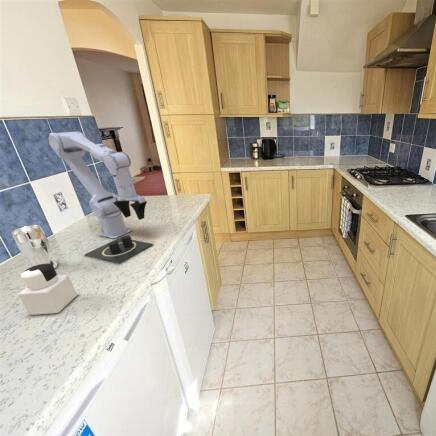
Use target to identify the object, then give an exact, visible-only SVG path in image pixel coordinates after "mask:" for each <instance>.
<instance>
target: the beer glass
mask: <svg viewBox="0 0 436 436" xmlns="http://www.w3.org/2000/svg"><path fill="white" fill-rule="evenodd" d="M10 234H11V236H12V238H13V241H14V243H15V245H16V247H17V248H18V250H19V251H20V252H21V253H22V255H23V256H24V257H25V258H26V259H27V261H28V262H29V264H30V265H31V267H33V266H36V265H39V264H52V265H53V267H54V269H56V268H57V267H58V263H57V262H56V260H55V259H54V257H53V255H52V252H51V247H50V243H49V240H48V238H47V235H46V233H45V232H44V230H43V228H42V226H41V225H39V224H31V225H26V226H22V227H19V228H16V229H13V230H12V231H11V232H10Z"/></svg>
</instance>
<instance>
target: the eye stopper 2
mask: <svg viewBox="0 0 436 436" xmlns="http://www.w3.org/2000/svg"><path fill="white" fill-rule="evenodd" d="M120 238H121V240H122V243H123V246H124V248H129V247H131V246H133V243H132V240H133V239H132V238H131V235H129V234H127V235H126V234H125V235H122V236H120Z"/></svg>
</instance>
